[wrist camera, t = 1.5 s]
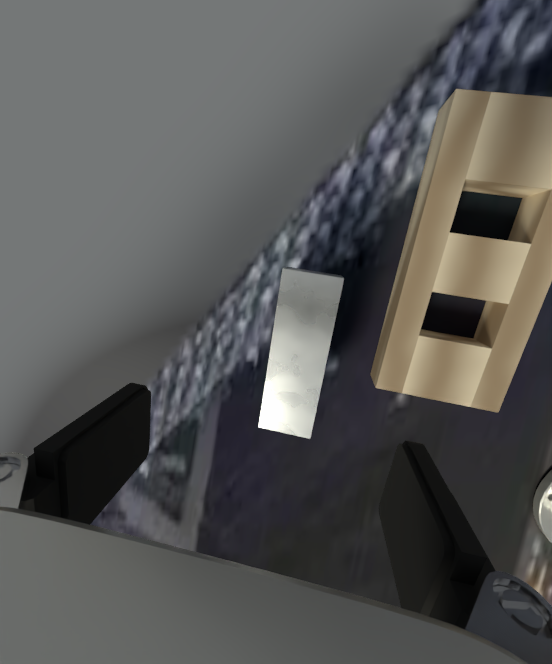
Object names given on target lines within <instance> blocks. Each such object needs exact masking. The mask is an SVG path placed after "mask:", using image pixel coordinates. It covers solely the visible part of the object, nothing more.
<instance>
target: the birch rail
mask: <svg viewBox="0 0 552 664" xmlns="http://www.w3.org/2000/svg"><path fill="white" fill-rule="evenodd" d="M462 191H470V192H478V193H486V194H494V195H502V196H510V197H519V198H522V201H521V204H520V207H519V210H518V212H517V215H516V218H515V221H514V224H513V227H512V229H511V232H510V235H509V238H508V241H507V240H500V239H492V238H485V237H478V236H471V235H464V234H457V233H450V229H451V226H452V223H453V219H454V216H455V213H456V209H457V206H458V202H459V199H460V196H461V192H462ZM551 281H552V97H544V96H532V95H521V94H509V93H498V92H486V91H475V90H464V89H456V90H455V91H454V92H453V93H452V95H451V96H450V97H449V99H448V100H447V101H446V102H445V104H444V105H443V106H442V107H441V109H440V110H439V112H438V116H437V119H436V123H435V127H434V131H433V135H432V139H431V143H430V146H429V150H428V154H427V158H426V162H425V166H424V170H423V173H422V177H421V181H420V185H419V189H418V193H417V197H416V200H415V204H414V208H413V212H412V216H411V220H410V224H409V227H408V231H407V235H406V239H405V243H404V247H403V250H402V254H401V258H400V262H399V266H398V270H397V274H396V277H395V281H394V285H393V289H392V293H391V297H390V301H389V304H388V308H387V312H386V316H385V320H384V324H383V328H382V331H381V335H380V339H379V343H378V347H377V351H376V355H375V358H374V362H373V366H372V370H371V374H370V375H371V377H372V380H373V382H374V385H375V387H376V388H379V389H384V390H389V391H394V392H399V393H404V394H409V395H414V396H419V397H424V398H429V399H434V400H439V401H444V402H449V403H453V404H458V405H463V406H468V407H473V408H478V409H483V410H488V411H493V412H499V409H500V407H501V405H502V402H503V400H504V397H505V395H506V392H507V390H508V387H509V385H510V382H511V380H512V377H513V375H514V373H515V370H516V368H517V365H518V363H519V360H520V358H521V355H522V353H523V350H524V348H525V345H526V343H527V340H528V338H529V336H530V333H531V331H532V328H533V326H534V323H535V321H536V318H537V316H538V313H539V311H540V308H541V306H542V304H543V301H544V299H545V296H546V294H547V291H548V289H549V286H550V284H551ZM432 292H437V293H443V294H449V295H456V296H462V297H468V298H474V299H480V300H486V303H485V306H484V309H483V312H482V315H481V318H480V320H479V323H478V326H477V329H476V332H475V335H474V338H467V337H461V336H456V335H450V334H444V333H439V332H433V331H428V330H422V329H421V327H422V324H423V320H424V317H425V313H426V310H427V307H428V303H429V300H430V297H431V293H432Z"/></svg>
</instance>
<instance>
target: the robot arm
mask: <svg viewBox="0 0 552 664" xmlns="http://www.w3.org/2000/svg"><path fill="white" fill-rule="evenodd" d="M150 408H151V392H150V391H149V390H148V389H147V387H146V386H145V385H140V384H135V383H129V384H128V385H126V386H125V387H123V388H122V389H120V390H119V391H117V392H116V393H115V394H113V395H112V396H110V397H109V398H107V399H106V400H104V401H103V402H101V403H100V404H98V405H97V406H95V407H94V408H92V409H91V410H89V411H88V412H86V413H85V414H84V415H82V416H81V417H79V418H78V419H76V420H75V421H73V422H72V423H70V424H69V425H67V426H66V427H64V428H63V429H62V430H60V431H59V432H57V433H56V434H54V435H53V436H51V437H50V438H48V439H47V440H45V441H44V442H42V443H41V444H39V445H38V446H37V447H35V448H34V454H32V455H31V456H29V457H28V458H27V457H26V456H24V455H22V454H19V453H2V454H0V664H552V606H551V605H550V604H549V603H548V602H547V601H546V600H545V599H544V598H543V597H542V596H541V595H540V594H539V593H538V592H537V591H536V590H534V589H533V588H532V587H531V586H529V585H528V584H527V583H525V582H523V581H522V580H520V579H519V578H517V577H515V576H513V575H510V574H508V573H505V572H499V571H495V569H494V567H493V566H492V564H491V562H490V560H489V558H488V557H487V555H486V553H485V551H484V550H483V548H482V546H481V544H480V542H479V541H478V539H477V537H476V535H475V534H474V532H473V530H472V528H471V526H470V525H469V523H468V521H467V519H466V517H465V516H464V514H463V512H462V510H461V509H460V507H459V505H458V503H457V501H456V500H455V498H454V496H453V495H452V493H451V492H450V491H449V489H448V487H447V485H446V483H445V482H444V480H443V478H442V476H441V475H440V473H439V471H438V469H437V467H436V466H435V464H434V462H433V460H432V458H431V457H430V455H429V453H428V451H427V449H426V448H425V446H424V445H423V444H420V443H415V442H410V441H405V442H404V443H403V444H399V445H398V446H397V449H396V452H395V456H394V459H393V462H392V465H391V468H390V472H389V475H388V478H387V481H386V484H385V488H384V491H383V494H382V497H381V500H380V504H379V515H380V519H381V524H382V528H383V532H384V536H385V540H386V545H387V549H388V553H389V557H390V562H391V566H392V570H393V574H394V578H395V583H396V587H397V591H398V595H399V600H400V604H401V608H399V607H396V606H392V605H389V604H385V603H382V602H378V601H375V600H372V599H368V598H365V597H361V596H358V595H354V594H350V593H347V592H343V591H339V590H336V589H332V588H328V587H324V586H321V585H317V584H313V583H310V582H306V581H302V580H299V579H295V578H291V577H288V576H284V575H280V574H277V573H273V572H269V571H265V570H262V569H258V568H254V567H250V566H246V565H243V564H239V563H235V562H231V561H228V560H224V559H220V558H216V557H213V556H209V555H205V554H201V553H197V552H193V551H190V550H186V549H182V548H178V547H174V546H171V545H167V544H163V543H159V542H155V541H151V540H147V539H143V538H140V537H136V536H132V535H128V534H124V533H120V532H116V531H112V530H108V529H105V528H101V527H97V526H93V525H90V524H91V523H92V522H93V520H94V519H95V518H96V517H97V516H98V514H99V513H100V512H101V511H102V510H103V509H104V507H105V506H106V505H107V504H108V503H109V501H110V500H111V499H112V498H113V497H114V496H115V494H116V493H117V492H118V491H119V490H120V488H121V487H122V486H123V485H124V484H125V483H126V481H127V480H128V479H129V478H130V477H131V475H132V474H133V473H134V472H135V471H136V470H137V468H138V467H139V466H140V465H141V464H142V462H143V461H144V460H145V459H146V457H147V455H148V452H149V439H150ZM533 513H534V517H535V521H536V523H537V524H538V526H539V528H540V530H541V531H542V532H543V534H544V535H545V536H546V537H547V539H548V540H549V541H550V542H551V543H552V470H551V471H550V472H549V473H548V474H547V475H546V476H545V477H544V478H543V480H542V481H541V483H540V485H539V486H538V488H537V490H536V493H535V496H534V500H533Z"/></svg>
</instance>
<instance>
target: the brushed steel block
mask: <svg viewBox="0 0 552 664" xmlns="http://www.w3.org/2000/svg"><path fill="white" fill-rule="evenodd" d="M343 282H344V278H343V277H342V276H341V275H335V274H329V273H322V272H316V271H310V270H304V269H298V268H292V267H286V268H283V270H282V276H281V283H280V289H279V296H278V302H277V309H276V315H275V322H274V329H273V335H272V342H271V348H270V355H269V361H268V368H267V374H266V381H265V387H264V394H263V400H262V407H261V413H260V420H259V426H258V427H260V428H264V429H269V430H273V431H278V432H282V433H287V434H291V435H295V436H300V437H304V438H309V439H310V437H311V433H312V428H313V423H314V419H315V414H316V409H317V404H318V400H319V395H320V390H321V386H322V381H323V376H324V371H325V367H326V362H327V357H328V353H329V348H330V343H331V338H332V334H333V329H334V324H335V320H336V315H337V310H338V305H339V301H340V296H341V291H342V287H343Z"/></svg>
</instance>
